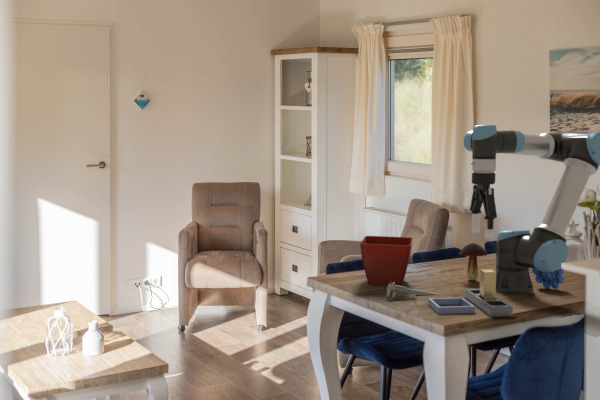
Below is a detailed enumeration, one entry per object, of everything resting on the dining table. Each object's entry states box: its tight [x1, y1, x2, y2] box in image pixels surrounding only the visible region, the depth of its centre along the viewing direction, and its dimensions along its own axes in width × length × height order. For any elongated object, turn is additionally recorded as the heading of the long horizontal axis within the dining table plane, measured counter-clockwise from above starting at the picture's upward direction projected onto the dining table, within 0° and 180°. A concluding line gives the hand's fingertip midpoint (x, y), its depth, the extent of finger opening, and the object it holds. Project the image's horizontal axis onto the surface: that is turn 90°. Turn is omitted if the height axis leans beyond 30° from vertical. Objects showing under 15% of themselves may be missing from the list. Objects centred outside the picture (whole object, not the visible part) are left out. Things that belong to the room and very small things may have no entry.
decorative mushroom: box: [458, 242, 488, 281], centre depth 279 cm, size 11×11×15 cm
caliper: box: [386, 282, 441, 299], centre depth 251 cm, size 20×1×6 cm, turn 95°
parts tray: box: [427, 297, 476, 315], centre depth 232 cm, size 12×12×3 cm
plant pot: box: [359, 235, 413, 287], centre depth 275 cm, size 19×19×17 cm
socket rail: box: [464, 287, 514, 318], centre depth 235 cm, size 26×7×4 cm, turn 5°
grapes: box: [531, 267, 565, 290], centre depth 264 cm, size 12×7×12 cm, turn 62°
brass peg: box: [479, 269, 497, 299], centre depth 235 cm, size 4×4×12 cm
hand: (482, 235), depth 234 cm, fingers open, 13 cm apart
